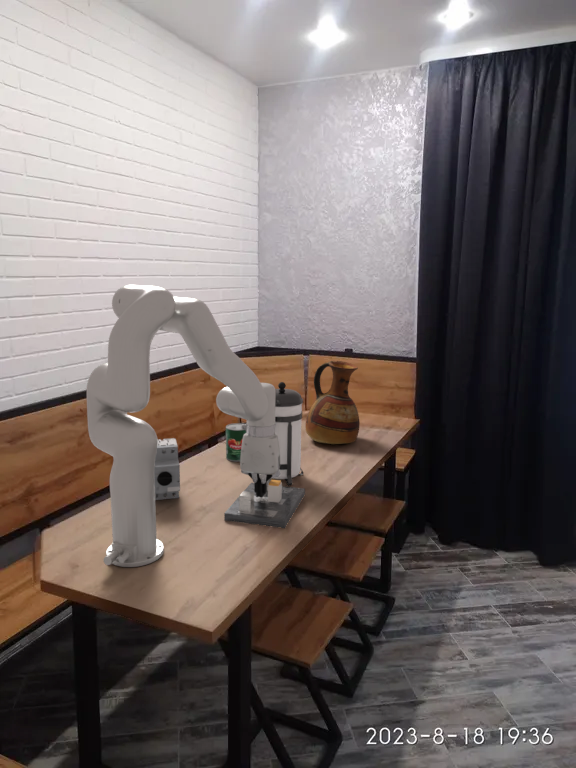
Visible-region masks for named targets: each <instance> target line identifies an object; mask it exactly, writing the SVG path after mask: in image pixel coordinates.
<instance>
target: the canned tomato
mask: <svg viewBox="0 0 576 768" xmlns="http://www.w3.org/2000/svg"><path fill="white" fill-rule="evenodd" d="M242 424H243V423H238V422H236V423H229V424H227V425H226V426H225V451H226V452H225V454H226V455H225V459H226V460H227V461H230V462H236V463H237V462H239V463H240V458H241V447H242V440H243V435H244V434H245V433H246V430H244V429H242Z"/></svg>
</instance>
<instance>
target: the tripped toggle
mask: <svg viewBox="0 0 576 768" xmlns="http://www.w3.org/2000/svg"><path fill="white" fill-rule="evenodd" d="M282 486H283V483H282V480H281V479H271V481H270V482H269V485H268V501H269V502H278V503H279V501H280V500H281V498H282Z"/></svg>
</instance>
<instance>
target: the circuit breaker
mask: <svg viewBox="0 0 576 768" xmlns="http://www.w3.org/2000/svg"><path fill="white" fill-rule="evenodd" d="M157 441H158V444H157V452H156V458H155V467H154V482H155V501H160V500H169V499H170V500H171V499H172V500H173V499H179V498H180V492H181V474H180V473H181V471H180V468H181V466H180V462H179V445H178V443H177V439H176V438H174V437H173V438H163V439H161V438H160V439H158V438H157Z"/></svg>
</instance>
